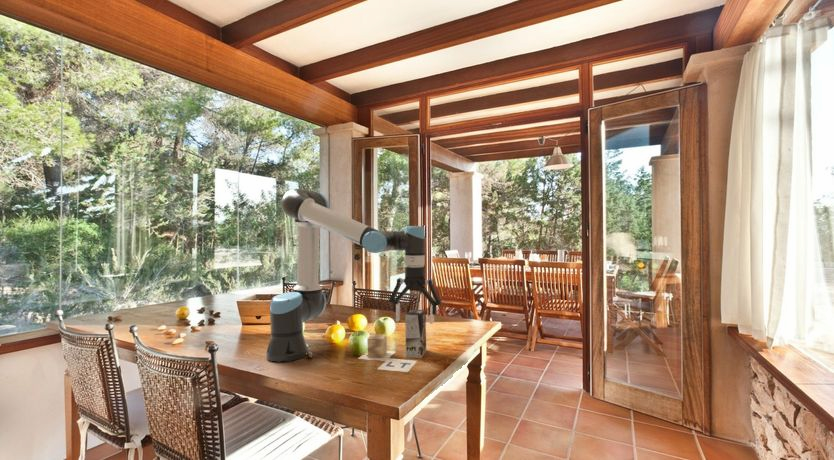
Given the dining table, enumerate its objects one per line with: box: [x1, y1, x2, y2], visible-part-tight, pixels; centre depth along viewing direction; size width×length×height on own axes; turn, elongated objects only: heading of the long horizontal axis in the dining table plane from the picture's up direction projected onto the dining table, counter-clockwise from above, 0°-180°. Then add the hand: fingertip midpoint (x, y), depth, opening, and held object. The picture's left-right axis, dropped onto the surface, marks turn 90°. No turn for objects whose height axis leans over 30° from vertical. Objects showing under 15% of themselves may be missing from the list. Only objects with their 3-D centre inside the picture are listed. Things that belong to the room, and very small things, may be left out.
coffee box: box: [404, 309, 427, 359], centre depth 141 cm, size 9×6×16 cm
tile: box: [377, 357, 418, 373], centre depth 130 cm, size 11×11×1 cm
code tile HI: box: [357, 350, 397, 362], centre depth 141 cm, size 11×11×1 cm
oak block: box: [366, 333, 388, 358], centre depth 141 cm, size 6×6×7 cm
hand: (414, 321), depth 142 cm, fingers open, 13 cm apart
